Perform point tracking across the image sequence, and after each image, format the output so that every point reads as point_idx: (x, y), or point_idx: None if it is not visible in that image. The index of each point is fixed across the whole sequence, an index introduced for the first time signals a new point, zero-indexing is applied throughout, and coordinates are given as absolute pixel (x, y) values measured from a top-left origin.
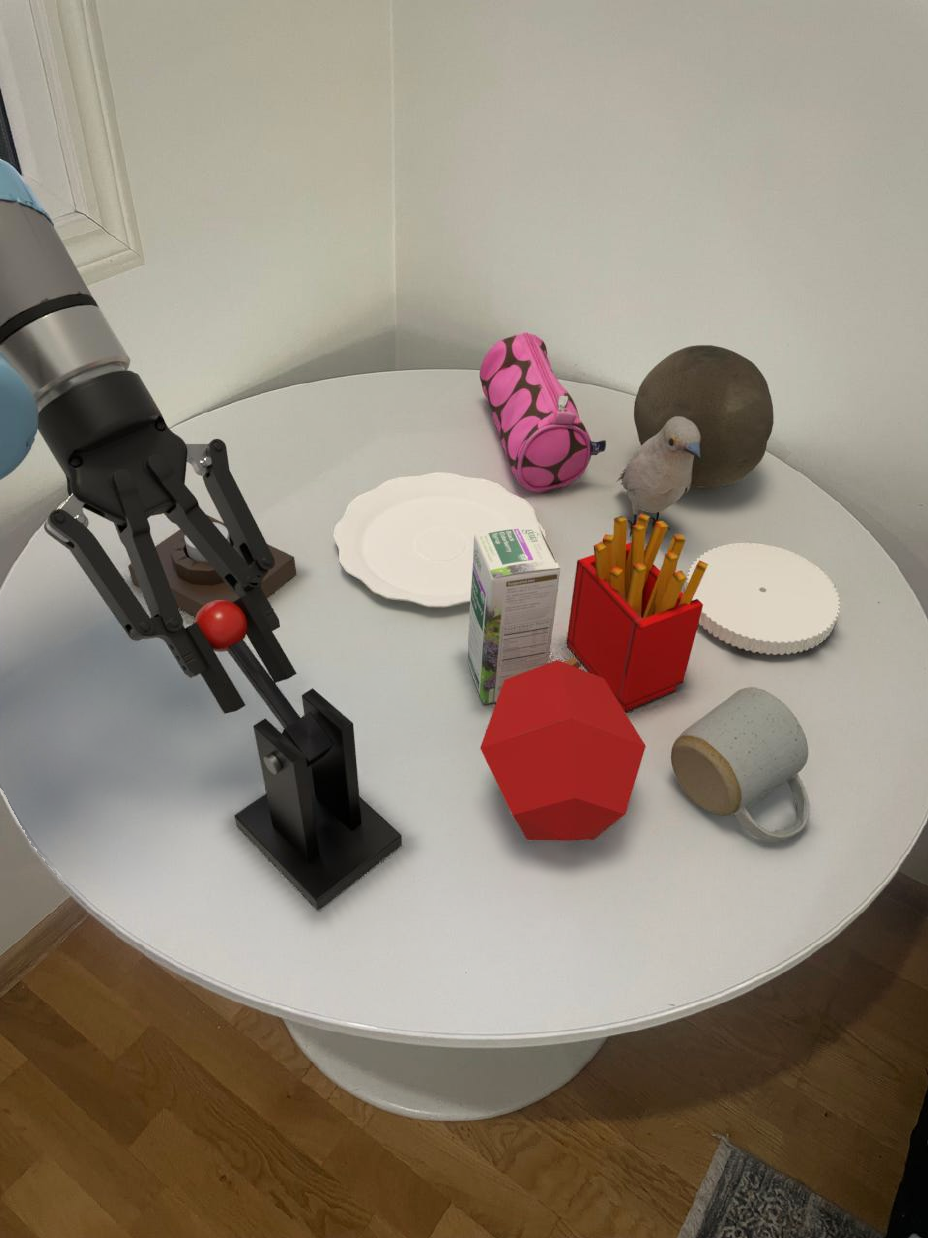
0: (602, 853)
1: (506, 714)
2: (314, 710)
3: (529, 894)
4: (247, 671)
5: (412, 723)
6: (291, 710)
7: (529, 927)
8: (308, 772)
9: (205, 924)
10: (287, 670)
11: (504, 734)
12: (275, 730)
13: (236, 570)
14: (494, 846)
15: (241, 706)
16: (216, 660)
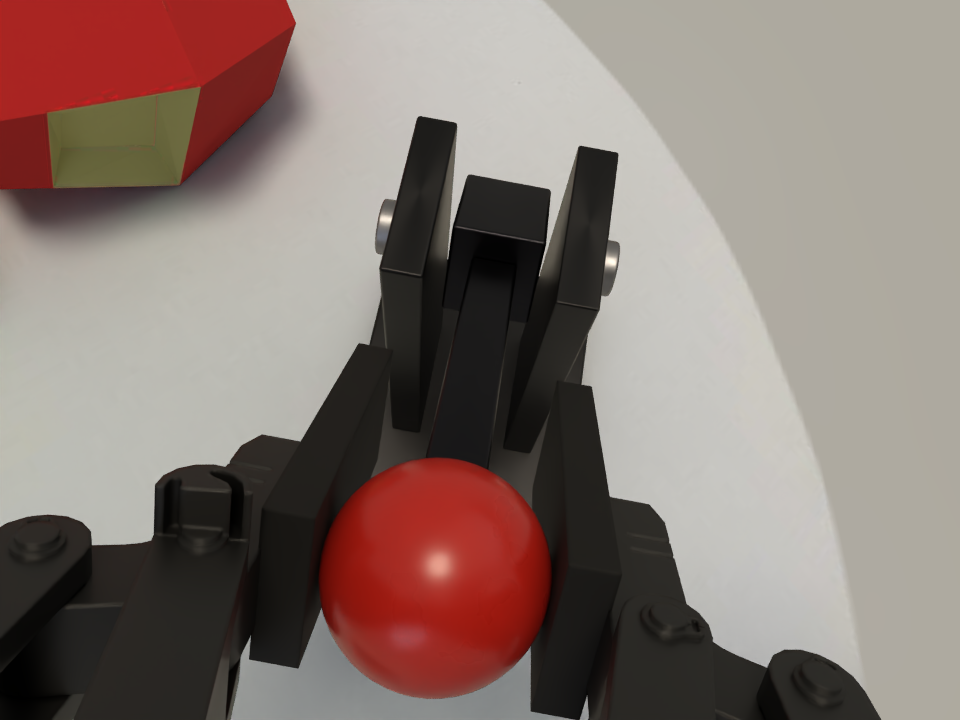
0: None
1: (94, 55)
2: (434, 234)
3: (353, 70)
4: (497, 399)
5: (113, 418)
6: (477, 277)
7: (403, 48)
8: None
9: (735, 437)
10: (375, 357)
11: (156, 29)
12: (570, 252)
13: (209, 599)
14: (304, 147)
15: (571, 384)
16: (572, 464)
